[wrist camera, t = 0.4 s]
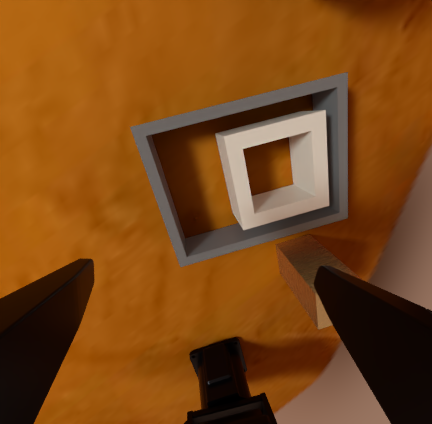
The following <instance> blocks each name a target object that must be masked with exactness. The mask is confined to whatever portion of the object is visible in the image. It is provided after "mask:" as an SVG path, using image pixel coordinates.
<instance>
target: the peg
mask: <svg viewBox="0 0 432 424" xmlns="http://www.w3.org/2000/svg"><path fill="white" fill-rule="evenodd" d="M276 250H277V257H278V263H279V270H280V274H281V275H282V277H283V278H284V280H285V281H286V283H287V284H288V286H289V287H290V288H291V290H292V291H293V293H294V294H295V296H296V297H297V299H298V300H299V302H300V303H301V305H302V306H303V308H304V309H305V311H306V312H307V314H308V315H309V317H310V318H311V319H312V321H313V322H314V324H315V325H316V327H317V328H318V329H321V328H325V327H328V326H331V325H333V324H332V323H331V321H330V319H329V317H328V315H327V313H326V311H325V309H324V307H323V305H322V302H321V300H320V298H319V296H318V294H317V292H316V290H315V288H314V279H315V276H316V273H317V270H318V268H319V266H322V265H324V266H331V267H334V268H336V269H338V270H340V271H343V272H345V273H347V274H350V275H352V276H354V277H356V278H359V279H361V278H360V277H359V276H358V275H356V274H355V273H354V272H353V271H352V270H351V269H349V268H348V267H347V266H346V265H345V264H344V263H342V262H341V261H340V260H339V259H338V258H337V257H335V256H334V255H333V254H332V253H331V252H330V251H328V250H327V249H326V248H325V247H324V246H323V245H322V244H320V243H319V242H318V241H317V240H316V239H315V238H313V237H312V236H311V235H310V234H309V235H306V236H302V237H299V238H295V239H292V240H288V241H285V242H282V243H278V244H276ZM361 280H362V279H361Z"/></svg>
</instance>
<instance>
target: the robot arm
mask: <svg viewBox="0 0 432 424" xmlns="http://www.w3.org/2000/svg"><path fill="white" fill-rule="evenodd" d="M93 285H94V263H93V260H92V259H78V260H76V261H74V262H72V263H70V264H68V265H66V266H64V267H62V268H60V269H58V270H56V271H54V272H52V273H50V274H48V275H46V276H44V277H42V278H40V279H38V280H36V281H34V282H32V283H30V284H28V285H26V286H25V287H23V288H21V289H19V290H17V291H15V292H13V293H11V294H9V295H7V296H5V297H3V298H1V299H0V424H34V422H35V419H36V417H37V415H38V413H39V411H40V409H41V407H42V405H43V403H44V400H45V398H46V396H47V394H48V392H49V390H50V388H51V386H52V383H53V381H54V379H55V377H56V375H57V373H58V371H59V369H60V367H61V364H62V362H63V360H64V358H65V356H66V354H67V352H68V350H69V347H70V345H71V343H72V341H73V339H74V337H75V335H76V333H77V330H78V328H79V326H80V323H81V320H82V318H83V315H84V312H85V309H86V306H87V303H88V300H89V297H90V294H91V291H92V288H93ZM314 288H315V290H316V292H317V294H318V296H319V298H320V300H321V302H322V305H323V307H324V309H325V311H326V313H327V315H328V317H329V319H330V321H331V323H332V324H333V326H334V328H335V329H336V331H337V333H338V335H339V336H340V338H341V340H342V341H343V343H344V345H345V346H346V348H347V350H348V351H349V353H350V355H351V357H352V358H353V360H354V362H355V363H356V365H357V367H358V368H359V370H360V372H361V373H362V375H363V377H364V379H365V380H366V382H367V383H368V385H369V387H370V389H371V390H372V392H373V394H374V395H375V397H376V399H377V401H378V402H379V404H380V406H381V407H382V409H383V411H384V412H385V414H386V416H387V417H388V419H389V421H390V423H391V424H432V311H431V310H429V309H426V308H424V307H422V306H420V305H417V304H415V303H413V302H411V301H408V300H406V299H404V298H402V297H399V296H397V295H395V294H392V293H390V292H388V291H386V290H383V289H381V288H379V287H377V286H374V285H372V284H370V283H368V282H365V281H363V280H361V279H359V278H356V277H354V276H352V275H350V274H347V273H345V272H343V271H340V270H338V269H336V268H334V267H331V266H324V265H322V266H319V268H318V270H317V273H316V276H315V279H314ZM189 355H190V360H191V362H192V365H193V367H194V369H195V372H196V374H197V376H198V379H199V388H200V399H201V410H197V411H189V412H187V421H186V422H185V423H184V424H277V422H276V419H275V417H274V414H273V412H272V409H271V407H270V404H269V402H268V399H267V397H266V394H265V393H261V394H260V395H257V396H253V397H251V395H250V391H249V387H248V384H247V380H246V376H245V372H246V371H247V368H246V364H245V361H244V357H243V354H242V350H241V346H240V343H239V339H238V338H233V339H230V340H226V341H223V342H220V343H217V344H214V345H211V346H207V347H204V348H201V349H198V350H195V351H192V352H190V354H189Z"/></svg>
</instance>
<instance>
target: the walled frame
mask: <svg viewBox="0 0 432 424" xmlns="http://www.w3.org/2000/svg"><path fill="white" fill-rule="evenodd" d="M308 94H312V102H313V111H299V112H295V113H291V114H288V115H284V116H280V117H276V118H272V119H268V120H265V121H261V122H257V123H253V124H249V125H245V126H241V127H238V128H234V129H230V130H226V131H222V132H218V133H215V135H216V140H217V144H218V149H219V153H220V158H221V162H222V167H223V171H224V176H225V180H226V185H227V189H228V194H229V198H230V203H231V207H232V212H233V214H234V216H235V217H236V219H237V221H238V222H239V223H237V224H234V225H230V226H227V227H223V228H220V229H216V230H213V231H209V232H206V233H202V234H199V235H195V236H192V237H188V238H185V236H184V233H183V230H182V227H181V224H180V221H179V218H178V215H177V212H176V209H175V206H174V203H173V200H172V197H171V194H170V191H169V188H168V184H167V181H166V178H165V175H164V172H163V169H162V166H161V163H160V160H159V157H158V154H157V151H156V148H155V145H154V142H153V139H152V136H151V135H152V134H156V133H160V132H164V131H168V130H172V129H176V128H180V127H183V126H187V125H191V124H195V123H199V122H203V121H207V120H211V119H215V118H219V117H222V116H226V115H230V114H234V113H238V112H242V111H246V110H250V109H254V108H258V107H261V106H265V105H269V104H273V103H277V102H281V101H285V100H289V99H293V98H297V97H301V96H304V95H308ZM130 128H131V131H132V133H133V136H134V139H135V142H136V145H137V147H138V150H139V153H140V156H141V158H142V161H143V164H144V167H145V170H146V172H147V175H148V178H149V181H150V184H151V186H152V189H153V192H154V195H155V197H156V200H157V203H158V206H159V209H160V211H161V214H162V217H163V220H164V223H165V225H166V228H167V231H168V234H169V236H170V239H171V242H172V245H173V248H174V250H175V253H176V256H177V259H178V262H179V264H180V267H183V266H186V265H189V264H193V263H196V262H200V261H203V260H206V259H210V258H213V257H217V256H220V255H224V254H227V253H230V252H234V251H237V250H241V249H244V248H248V247H251V246H254V245H258V244H261V243H265V242H268V241H271V240H275V239H278V238H282V237H285V236H289V235H292V234H295V233H299V232H302V231H306V230H309V229H312V228H316V227H319V226H323V225H326V224H330V223H333V222H336V221H340V220H343V219H347V218H348V72H346V73H342V74H338V75H335V76H331V77H327V78H323V79H319V80H315V81H311V82H307V83H303V84H299V85H295V86H291V87H287V88H283V89H279V90H275V91H271V92H267V93H263V94H259V95H255V96H251V97H248V98H244V99H240V100H236V101H232V102H228V103H224V104H220V105H216V106H212V107H208V108H204V109H200V110H196V111H192V112H188V113H184V114H180V115H176V116H172V117H168V118H164V119H161V120H157V121H153V122H149V123H145V124H141V125H137V126H133V127H130ZM286 137H289V145H290V155H291V165H292V174H293V185H290V186H286V187H282V188H279V189H275V190H272V191H268V192H264V193H261V194H257V195H254V196H251V191H250V186H249V180H248V175H247V169H246V164H245V158H244V153H243V149H245V148H249V147H252V146H256V145H260V144H264V143H267V142H271V141H275V140H279V139H282V138H286Z"/></svg>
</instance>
